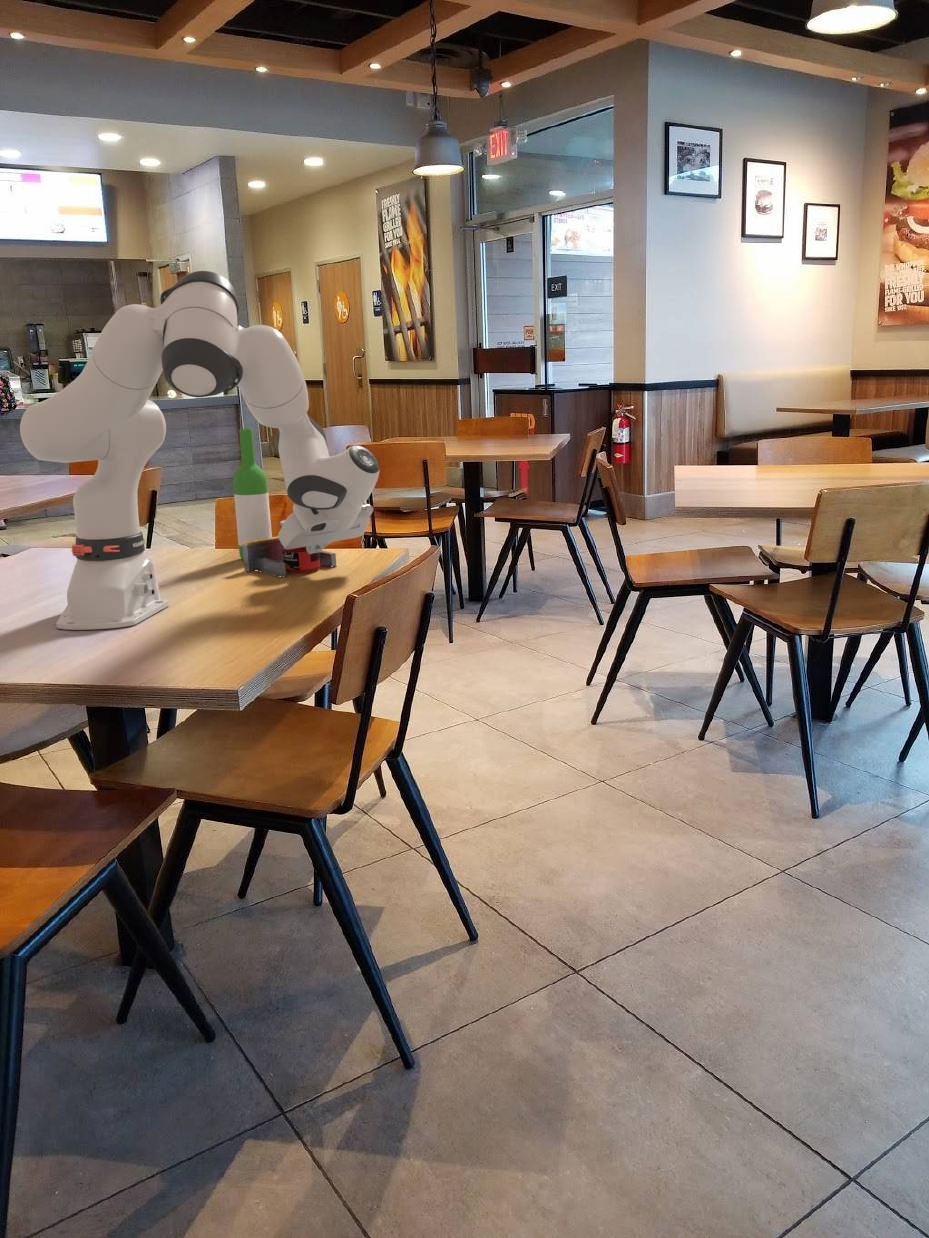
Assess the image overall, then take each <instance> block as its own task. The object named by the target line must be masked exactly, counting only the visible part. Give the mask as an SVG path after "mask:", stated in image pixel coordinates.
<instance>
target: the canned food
mask: <svg viewBox="0 0 929 1238" xmlns="http://www.w3.org/2000/svg"><path fill="white" fill-rule="evenodd" d="M285 520H286V519H284V520H281V521H280V522H279V528H280V529H281V527H282V525H283V524H284V522H285ZM280 529H279V530H280ZM281 545H282V544H281ZM306 547H307V546H306ZM306 547H300V548H295V549H289V550H286V549H285V548H284V547H283V545H282V557H283V562H284V563H285V571H286V573H287V572H288V573H287V574H291V573H296V574H297V575H299V574H300V575H301V574H302V573H303V574H310V572H311V573H314V571H315V572H317V571H319V570H320V566H321V565H320V560H319V553H313V554H308V552H307V551H306ZM318 569H319V570H318ZM296 574H295V575H296Z"/></svg>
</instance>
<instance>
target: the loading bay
mask: <svg viewBox="0 0 929 1238" xmlns="http://www.w3.org/2000/svg"><path fill="white" fill-rule="evenodd" d="M242 545H243V556H244V560H243V564H244V565H243V566H244V571H245V572H247V571H248V573H252V572H251V571H254V572H256V571H255V570H258V571H257V572H259V571H261V572H260V573H262V572H265V573H264V574H266V573H268V574H267V575H270V574H271V575H270V576H274V575H275V576H274V577H277V576H281V577H280V578H283V577H282V576H287V572H286V571H285V563H284V562H283V557H282V545H281V542H280V540H279V537H278V535H277V536H272V537H270V538H264V539H258V540H252V541H246V542H242ZM336 555H337V554H336V552H331V551H327V550H322V551H321V552H319V560H320V564H322V565H321V566H324V565H326V566H325V567H328V566H336V567H337V556H336Z"/></svg>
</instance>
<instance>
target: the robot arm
mask: <svg viewBox="0 0 929 1238" xmlns="http://www.w3.org/2000/svg"><path fill="white" fill-rule="evenodd" d="M159 300H160V306H158V307H150V306H148V305H147V306H146V305H143V304H139V303H138V304H137V303H135V304H134V303H132V304H128V305H124V306H121V308H120V309H118V310H116V312H114V314H113V315H112V316H111V318H110V319H109V320H108V322H107V323H106V325H105V326H104V327H103V329H102V330H101V333H100V334H99V336H98V338H97V339H96V342H95V344H94V346H93V348H92V351H91V353H90V355H89V357H88V359H87V362H86V364H85V366H84V367H83V369H82V371H81V372H80V374H79V375H78V376H77V377H76V378H74V380H73V381H71V382H70V383H69V384H67V386H65V387H64V388H63V389H61V390H60V391H58V392H57V393H55V394H54V395H52V396H50V397H48V398H47V399H45V400H42V401H40V402H37V403H35V404H32V405H30V406H28V407H27V408H26V410H25V411H24V412H23V414H22V417H21V419H20V424H19V435H20V438H21V440H22V443H23V445H24V447H25V449H26V450H27V451H28V452H29V454H30V455H31V456H33V457H34V458H35V459H36V460H38V461H43V462H53V463H64V464H67V463H68V464H69V463H78V462H88V461H97V463H98V464H97V468H96V470H95V473H94V474H93V476H92V477H91V478H90V479H89V480H87V481H86V482H84V483H83V484H81V485H80V486H79V487H78V488H77V490H76V491H75V492H74V495H73V499H72V506H73V513H74V520H75V528H76V537H75V544H72V546H71V554H72V556H73V557H75V558H76V563H75V565H74V568H73V570H72V573H71V576H70V580H69V583H68V587H67V589H66V600H67V605H66V607H65V608H64V610H63V611H62V613H61V614H60V617H58V619H57V621H56V623H55V625H56V629H61V630H71V631H72V630H73V631H74V630H75V631H76V630H77V631H79V630H81V631H82V630H85V631H86V630H105V629H118V628H126V627H130V626H135V625H137V624H138V623H141V622H143V621H145V620H146V619H147V618H150V617H151V616H153V615H155V614H156V613H158V612H160V611H162V610H164V609H166V608H168V607H169V605H170V604H169V601H168V599H166V598H161V594H160V590H159V589H160V588H159V583H158V577H157V571H156V567H155V563H154V562H153V561H152V560H150V559H149V558H148V557H147V556H146V554H145V553H144V551H145V550H146V547H145V544H146V543H145V538H144V534H143V531H141V527H140V520H139V519H140V517H139V504H138V501H139V499H138V490H139V484H140V480H141V476H142V474H143V471H144V468H145V466H146V465H147V463H148V461H149V460H150V459H151V457H152V456H153V455H154V454H155V453H156V452H157V451H158V450H159V449H160V448H161V446H162V445H163V443H164V441H165V438H166V434H167V423H166V418H165V416H164V414H163V412H162V410H161V409H160V407H159V406H158V405H157V404H156V403H155V402H154V401H153V400H150V399H149V398H150V397H151V394H152V392H153V391H154V389H155V387H156V384H158V380H159V379H160V377H161V375H162V373H163V376H164V377H163V378H164V379H165V381H166V382H167V384H168V385H169V386H170V387H171V388H172V389H173V390H175V391H176V392H178V393H180V394H183V395H185V396H188V397H193V398H207V397H212V396H217V395H220V394H222V393H227V392H230V391H232V390H234V389H235V388H236V387H237V386H238V389H239V391H240V393H241V396H242V398H243V401H244V402H245V404H246V407H247V408H248V410H249V411H250V413H251V414H252V416H253V417H254V418H255V420H256V421H257V422H258V423H259V424H260V425H263V426H264V427H268V428H271V429H272V428H273V429H277V431H276V435H275V436H276V437H275V446H276V449H277V453H278V456H279V460H280V465H281V469H282V475H283V479H284V484H285V485H284V486H285V489H286V494H287V497H288V498H289V499H290V501H292V503H294V504H293V505H292V510H293V511H292V513H290V514H289V515H288V516H287V517H286V519H284V520H285V522H284V524H283V525H282V527H281V529H279V532H278V535H277V536H278V537H279V540H280V542H281V544H282V545H283V547H284V548H285V549H286V550H289V549H295V548H300V547H306V546H307V547H306V551H307V552H308V554H313V553H319V552H321V551H323V549H325V547H327V546H329V545H330V544H331V543H333V542H339V541H344V540H345V541H346V540H350V539H355V538H360V537H361V536H363V535H364V534H365V532H366V530H367V529H368V526H369V524H370V521H371V515H372V514H373V512H374V506H372V505H371V504H368V503H365V502H367V501H368V499H369V497H370V496H371V494H372V492H373V490H374V488H375V487H376V484H377V482H378V479H379V477H380V471H381V469H380V465H379V461H378V460H377V458H376V456H375V455H374V454H373V453H372V452H371V451H370V450H369V449H367V448H365V447H363V446H361V445H358V444H357V445H356V444H354V445H351V446H349V447H348V448H347V449H346V450H345V451H343V452H341V453H339V454H335V455H331V456H330V454H329V449H328V442H327V436H326V432H325V430H324V429H323V428H322V426H320V425H319V423H317V422H316V421H315V420H314V419H312V417H310V415H309V414H308V411H309V408H310V406H309V405H310V402H309V400H310V399H309V393H308V391H309V390H308V385H307V383H306V382H307V381H306V379H305V376H304V373H303V370H302V369H301V368H302V367H301V365H300V363H299V361H298V358H297V356H296V355H295V353H294V351H293V349H292V348H291V346H290V343H289V342H288V341H287V339H286V338H285V336H284V335H283V334H282V333H281V332H280V331H279V330H278V329H276V328H274V327H272V326H270V325H266V324H256V325H251V326H249V327H246V328H245V327H243V326H241V325H238V316H239V312H240V308H239V307H240V306H239V300H238V296H237V294H236V291H235V289H234V286H233V284H232V283H231V282H230V281H229V280H228V279H226V278H225V277H224V276H223V275H221V274H219V273H216V272H213V271H208V270H197V271H192V272H191V273H190V272H189V273H188V274H186V275H184V276H183V277H181V278H180V279H179V280H178V281H177V282H176V283H175V284H174V285H173V286H171V287H170V288H167V289H165V290H164V291H163V292H162V293H160V299H159ZM364 503H365V504H364Z"/></svg>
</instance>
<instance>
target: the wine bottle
mask: <svg viewBox="0 0 929 1238" xmlns="http://www.w3.org/2000/svg"><path fill="white" fill-rule="evenodd" d="M238 432H239V444H240V456H241V457H240V458H241V464H240V466H238V468H237V469H236V471H235V472H234V475H233V478H232V479H233V480H232V484H233V486H232V487H233V496H234V509H235V518H236V519H235V520H236V530H237V533H236V534H237V540H238V541H237V544H238V550H239V556H240V558H241V560H242V561H244V556H243V545H242V542H246V541H252V540H258V539H264V538H270V537H273V535H272V534H273V533H272V522H271V510H270V498H269V489H268V488H269V486H268V478H267V475H266V473H265V471H264V470H263V468H261V467H260V466H258V465H257V463H256V455H255V444H254V443H255V442H254V433H253V432H254V431H253V429H252V428H240V429H239V430H238Z"/></svg>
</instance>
